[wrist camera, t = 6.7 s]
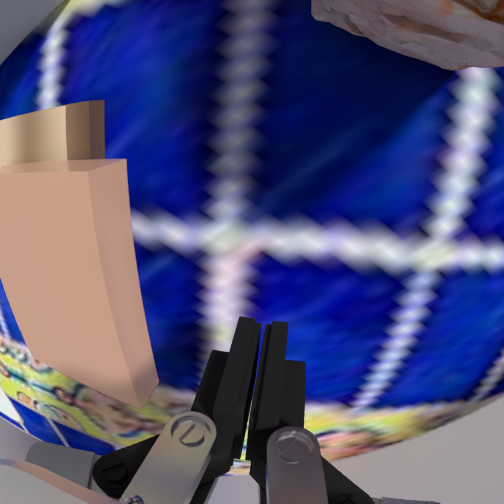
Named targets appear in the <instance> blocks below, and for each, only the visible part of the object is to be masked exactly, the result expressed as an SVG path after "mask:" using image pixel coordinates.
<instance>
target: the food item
mask: <svg viewBox="0 0 504 504" xmlns="http://www.w3.org/2000/svg"><path fill="white" fill-rule="evenodd" d="M311 14H312V16H313V17H314V18H315V19H316V20H318V21H325V22H331V23H332V24H333V25H335V26H338V27H340V28H343V29H345V30H347V31H348V32H350V33H352V34H354V35H358V36H363V37H368V38H369V39H371V40H372V41H373V42H375V43H376V44H377V45H379V46H382V47H385V48H387V49H390V50H392V51H395V52H397V53H400V54H402V55H406V56H410V57H413V58H417V59H420V60H423V61H426V62H428V63H431V64H434V65H437V66H439V67H441V68H442V69H448V70H462V69H465V68H468V67H480V68H486V67H501V66H504V0H312V7H311Z"/></svg>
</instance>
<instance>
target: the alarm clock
mask: <svg viewBox="0 0 504 504" xmlns="http://www.w3.org/2000/svg"><path fill="white" fill-rule="evenodd" d="M64 1H65V0H0V65H1V64H2V63H3V61H4V60H5V59H6V58H7V57H8V56H9V55H10V53H11V52H12V51H13V50H14V49H15V48H16V47H17V46H18V45H19V44H20V42H21V41H22V40H23V39H24V38H25V37H26V36H27V35H28V34H29V33H30V32H31V31H32V30H33V29H34V28H35V27H36V26H37V25H38V24H39V23H40V22H41V21H42V20H44V19H45V18H46V17H47V16H48V15H49V14H50V13H51V12H52V11H53V10H55V9H56V8H57V7H58V6H59V5H60V4H61V3H63V2H64Z"/></svg>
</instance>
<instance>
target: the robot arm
mask: <svg viewBox="0 0 504 504" xmlns="http://www.w3.org/2000/svg"><path fill="white" fill-rule="evenodd" d="M260 330H261V323H255V318H248V317H241V316H240V317H239V320H238V323H237V327H236V330H235V334H234V337H233V341H232V344H231V348H230V351H229V352H223V351H217V350H212V352H211V354H210V357H209V360H208V363H207V366H206V368H205V371H204V374H203V377H202V380H201V383H200V386H199V388H198V391H197V394H196V397H195V400H194V403H193V406H192V408H191V411H189V412H182V413H179V414H177V415H175V416H174V417H172V418H171V419H170V420H169V421H168V423H167V424H166V426H165V427H164V429H163V431H162V432H161V434H158V435H156V436H154V437H151V438H149V439H146V440H143V441H141V442H138V443H136V444H133V445H130V446H128V447H125V448H122V449H119V450H117V451H114V452H111V453H108V454H105V455H104V456H100V455H95V453H94V452H90V451H84V450H79V449H74V448H70V447H65V446H61V445H57V444H52V443H49V442H38V443H35V444H34V445H32V446H31V447H30V449H29V451H28V453H27V456H26V459H25V461H24V460H19V459H15V458H9V457H0V504H207V503H208V501H209V499H210V497H211V494H212V492H213V490H214V488H215V485H216V483H217V481H218V478H219V476H221V475H223V474H225V473H227V472H229V470H230V466H233V461H234V458H235V459H240V458H241V453H242V448H243V443H244V438H245V433H246V428H247V422H248V417H249V412H250V418H249V428H248V438H247V448H246V458H245V460H248V461H251V466H250V473H249V474H250V475H251V476H252V478H253V479H254V480H255V481H256V482H257V483H258V495H259V504H440V503H438V502H434V501H417V500H404V499H394V498H386V497H382V498H381V499H377V498H371V497H370V496H369V495H368V494H367V493H365V492H364V491H363V490H362V489H360V488H359V487H358V486H357V485H355V484H354V483H353V482H352V481H350V480H349V479H348V478H347V477H346V476H344V475H343V474H342V473H341V472H340V471H338V470H337V469H336V468H335V467H334V466H333V465H331V464H330V463H329V462H328V461H327V460H326V459H324V458H323V457H322V456H321V453H320V447H319V443H318V440H317V438H316V437H315V436H314V435H313V433H311V432H310V431H308V430H307V429H304V411H305V377H306V363H305V362H302V361H292V360H285V357H286V345H287V332H288V322H281V321H273V322H272V325H270V324H266V326H265V332H264V338H263V344H262V350H261V355H260V361H259V367H258V372H257V378H256V370H257V360H258V350H259V340H260ZM255 379H256V383H255ZM254 385H255V389H254ZM253 390H254V394H253ZM252 396H253V400H252ZM251 401H252V405H251ZM250 407H251V411H250Z"/></svg>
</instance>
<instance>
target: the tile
mask: <svg viewBox="0 0 504 504" xmlns="http://www.w3.org/2000/svg"><path fill="white" fill-rule="evenodd" d="M0 278H1V281H2V284H3V287H4V289H5V292H6V295H7V298H8V301H9V303H10V306H11V308H12V311H13V314H14V316H15V319H16V321H17V323H18V326H19V328H20V330H21V333H22V335H23V337H24V339H25V342H26V344H27V346H28V348H29V350H30V352H31V354H32V356H33V357H34V358H35V359H37V360H39V361H41V362H42V363H44V364H46V365H48V366H49V367H51V368H53V369H55V370H57V371H58V372H60V373H62V374H64V375H66V376H68V377H70V378H72V379H74V380H76V381H78V382H80V383H82V384H84V385H86V386H88V387H90V388H92V389H94V390H96V391H99V392H101V393H103V394H105V395H107V396H110V397H112V398H114V399H117V400H119V401H121V402H124V403H126V404H128V405H131V406H133V407H136V408H138V409H141V410H142V408H143V407H144V405H145V403H146V402H147V400H148V399H149V397H150V396H151V394H152V393H153V391H154V389H155V388H156V386H157V385H158V383H159V379H158V375H157V370H156V366H155V362H154V358H153V353H152V348H151V344H150V339H149V334H148V329H147V324H146V319H145V314H144V308H143V303H142V297H141V291H140V285H139V278H138V272H137V265H136V258H135V250H134V242H133V234H132V225H131V215H130V205H129V193H128V180H127V163H126V159H90V160H65V161H47V162H33V163H21V164H10V165H5V166H2V167H0Z"/></svg>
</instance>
